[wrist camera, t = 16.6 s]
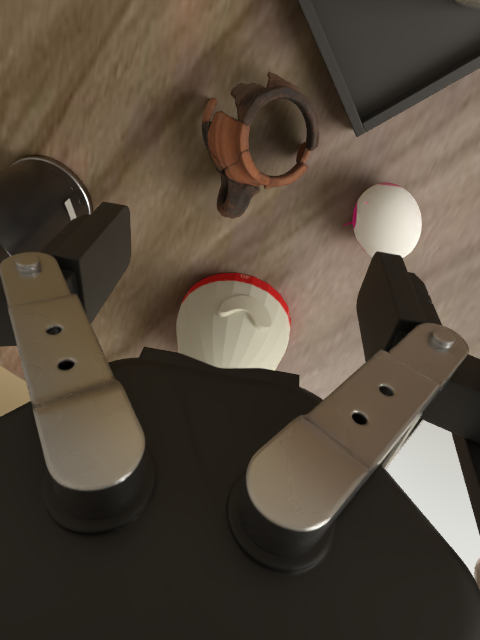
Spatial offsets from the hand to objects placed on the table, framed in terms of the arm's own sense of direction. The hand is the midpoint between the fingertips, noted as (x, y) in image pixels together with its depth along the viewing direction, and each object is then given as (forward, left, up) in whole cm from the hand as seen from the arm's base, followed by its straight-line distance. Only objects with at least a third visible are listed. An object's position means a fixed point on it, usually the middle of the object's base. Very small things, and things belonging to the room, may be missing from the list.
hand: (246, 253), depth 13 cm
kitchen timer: (-17, -19, -28) cm, 38 cm away
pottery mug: (-4, -2, -28) cm, 29 cm away
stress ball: (+3, -14, -28) cm, 32 cm away
